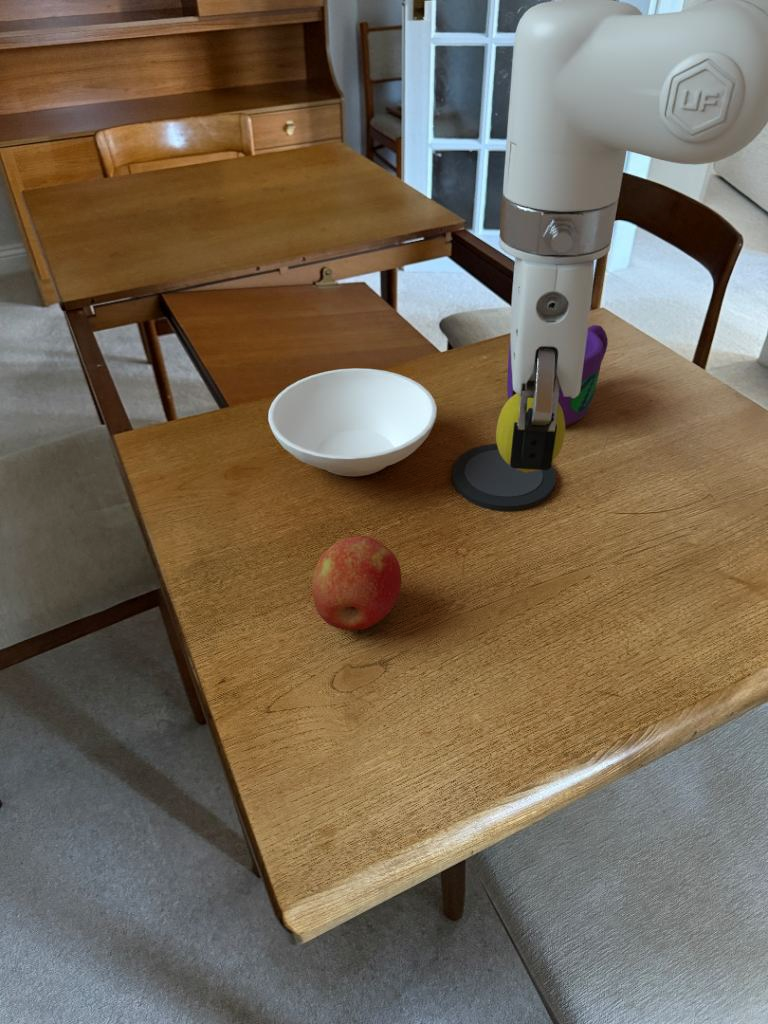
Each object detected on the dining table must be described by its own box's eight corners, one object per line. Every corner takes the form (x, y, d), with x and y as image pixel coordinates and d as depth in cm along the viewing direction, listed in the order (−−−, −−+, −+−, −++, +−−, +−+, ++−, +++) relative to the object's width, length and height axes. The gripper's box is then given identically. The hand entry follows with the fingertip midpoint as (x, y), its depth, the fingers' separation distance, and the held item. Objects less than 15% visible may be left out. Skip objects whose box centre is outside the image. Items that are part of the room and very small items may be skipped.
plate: (562, 458, 89) (563, 452, 89) (546, 520, 80) (547, 513, 80) (464, 442, 92) (465, 436, 92) (439, 500, 84) (440, 493, 83)
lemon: (508, 496, 61) (518, 413, 56) (482, 459, 65) (489, 378, 60) (570, 483, 62) (584, 400, 57) (540, 447, 66) (551, 367, 61)
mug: (555, 444, 91) (566, 372, 85) (485, 409, 98) (491, 340, 91) (634, 393, 100) (649, 324, 94) (565, 364, 107) (575, 298, 100)
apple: (411, 594, 72) (411, 533, 67) (380, 658, 66) (378, 596, 61) (336, 574, 75) (331, 514, 70) (300, 634, 69) (291, 573, 64)
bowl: (464, 442, 92) (467, 394, 88) (377, 530, 80) (375, 479, 75) (337, 399, 101) (334, 354, 96) (241, 472, 88) (232, 424, 84)
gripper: (629, 274, 43) (583, 513, 55) (601, 185, 56) (568, 393, 68) (499, 271, 44) (480, 507, 55) (501, 184, 57) (485, 389, 68)
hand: (529, 442), depth 61 cm, fingers closed on lemon, 5 cm apart
